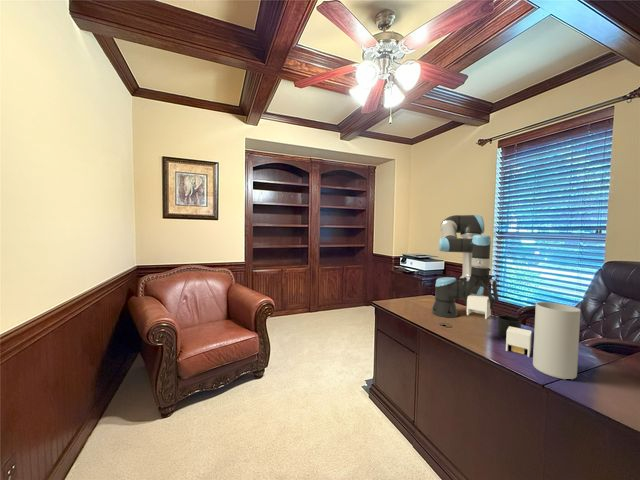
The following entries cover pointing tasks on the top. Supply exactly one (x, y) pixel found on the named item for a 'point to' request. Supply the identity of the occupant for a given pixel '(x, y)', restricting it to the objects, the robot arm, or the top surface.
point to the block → (518, 349)
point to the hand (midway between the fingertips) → (478, 313)
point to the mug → (507, 324)
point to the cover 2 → (518, 338)
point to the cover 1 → (477, 304)
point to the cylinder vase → (556, 339)
